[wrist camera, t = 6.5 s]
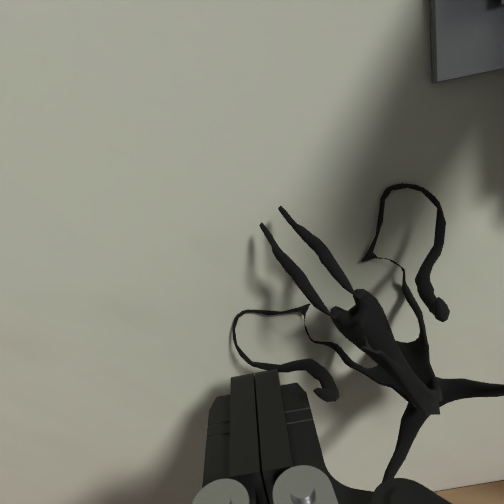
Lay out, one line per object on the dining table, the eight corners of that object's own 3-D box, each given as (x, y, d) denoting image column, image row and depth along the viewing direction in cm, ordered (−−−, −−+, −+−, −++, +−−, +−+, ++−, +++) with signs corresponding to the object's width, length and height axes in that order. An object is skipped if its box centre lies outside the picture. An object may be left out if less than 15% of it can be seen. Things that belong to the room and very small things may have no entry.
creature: (191, 284, 14) (337, 443, 14) (126, 347, 9) (359, 596, 9) (365, 128, 12) (523, 313, 13) (416, 87, 7) (684, 406, 7)
